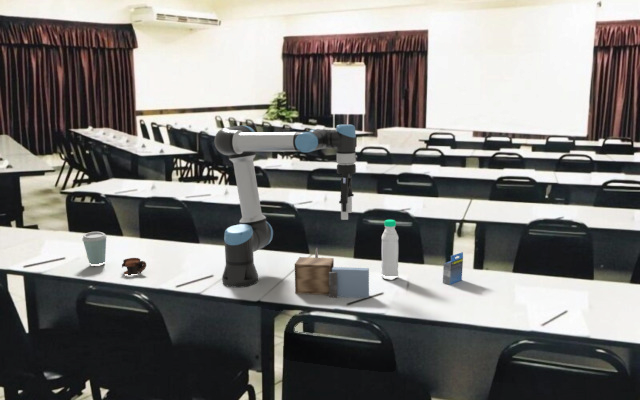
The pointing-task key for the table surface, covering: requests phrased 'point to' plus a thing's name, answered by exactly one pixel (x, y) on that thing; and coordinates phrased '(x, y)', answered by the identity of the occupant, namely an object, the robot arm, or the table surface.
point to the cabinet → (315, 276)
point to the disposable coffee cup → (95, 246)
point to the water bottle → (390, 249)
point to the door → (352, 282)
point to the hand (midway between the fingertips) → (346, 215)
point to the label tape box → (453, 269)
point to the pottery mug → (133, 265)
